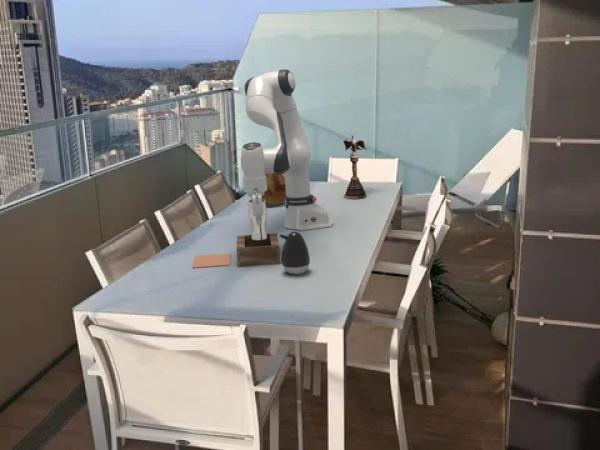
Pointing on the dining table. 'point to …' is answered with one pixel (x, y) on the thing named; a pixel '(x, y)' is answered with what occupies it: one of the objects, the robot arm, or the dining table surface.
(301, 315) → the dining table surface
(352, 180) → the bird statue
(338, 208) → the dining table surface
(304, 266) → the pump dispenser
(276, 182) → the ceramic pitcher
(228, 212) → the dining table surface
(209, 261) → the terracotta mat
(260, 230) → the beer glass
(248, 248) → the walnut box
